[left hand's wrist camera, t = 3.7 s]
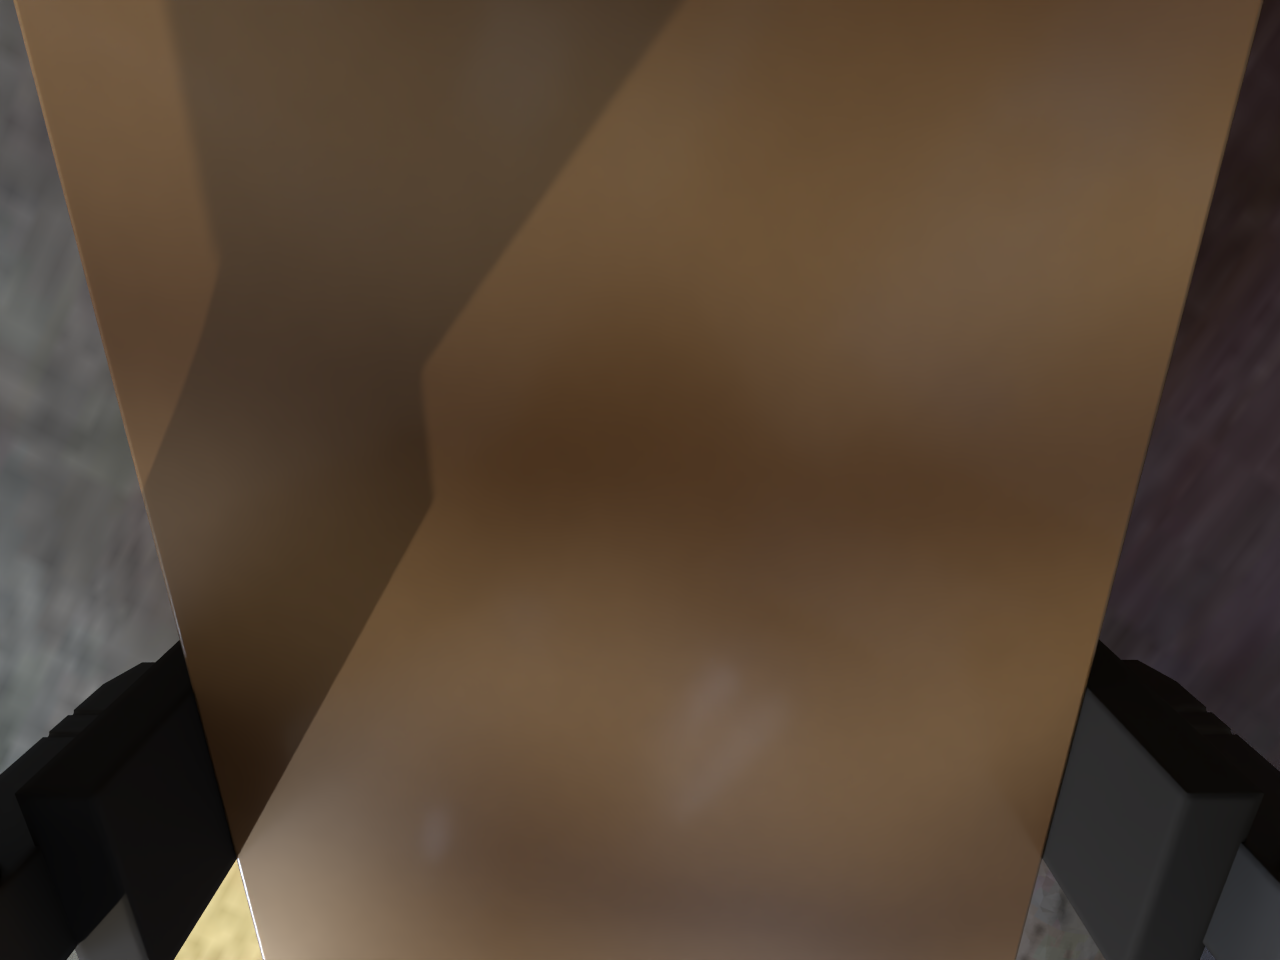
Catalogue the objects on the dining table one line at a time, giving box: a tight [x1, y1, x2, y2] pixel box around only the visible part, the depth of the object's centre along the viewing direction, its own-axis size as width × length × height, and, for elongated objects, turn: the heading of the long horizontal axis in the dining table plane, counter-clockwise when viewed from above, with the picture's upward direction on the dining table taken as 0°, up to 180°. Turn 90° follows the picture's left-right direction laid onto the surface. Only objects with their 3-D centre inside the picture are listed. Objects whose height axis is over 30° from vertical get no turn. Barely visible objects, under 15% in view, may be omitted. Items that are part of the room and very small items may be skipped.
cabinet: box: [14, 0, 1264, 960], centre depth 13 cm, size 17×11×11 cm, turn 0°
